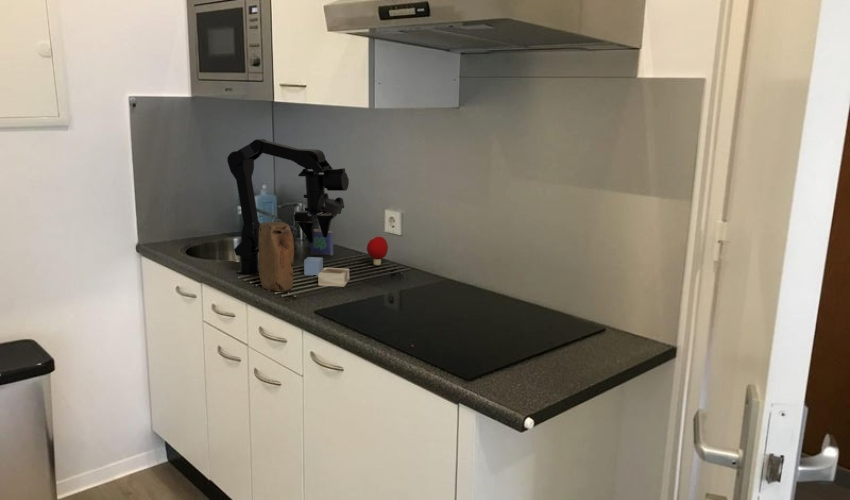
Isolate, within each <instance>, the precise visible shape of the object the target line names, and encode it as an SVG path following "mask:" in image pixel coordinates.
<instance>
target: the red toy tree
mask: <svg viewBox="0 0 850 500" xmlns="http://www.w3.org/2000/svg"><path fill="white" fill-rule="evenodd" d="M388 249H389V245H388V241H387V240H386V239H385V238H384V237H382V236H376V237H373V238H372V239H370V240H369V242H368V243H367V245H366V251H367V254H368V255H369V256H370V257H371V258H372V259H373V260H372V263H373V265H374V266H375V267H379V266H381V264H382V259H384V258H385V257H386V256H387V255H388Z"/></svg>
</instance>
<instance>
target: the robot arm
mask: <svg viewBox="0 0 850 500" xmlns="http://www.w3.org/2000/svg"><path fill="white" fill-rule="evenodd" d="M262 154H266V155H269V156H273V157H276V158H279V159H283V160H288V161H291V162H294V163H295V164H296V165H298V166H299V167H302V168H303V169H302V170H301V171H300V172H299V173H298V174H297V175H298V176H297V177H305V178H304V179H305V180H304V181H305V193H304V194H303V199H306V207H304V210H298V211H296V212H295V213H294V214H293V221H294V222H296V224H297V225H298V226H299V227H300V229H301V230H302V231H303V234H304V235H305V237H306V239H307V240H308V243H313V238H314V229H315V225H317V223H318V225H319V226H320V227H319V229H320V228H321V231H322V234H323V237H327V235H328V231H330V227H331V222H332V220H333V219H334V218H335V217H336V216H337V215H338V214H339V215H341V214H342V210H343V209H344V208H345V203H344V199H343V198H342V197H339V196H338V197H336V198H329V193H328V192H326V190H327V191H330V192H332V191H333V192H334V191H335V192H336V191H339V192H341V191H342V192H343V191H344V192H345V191H347V190H348V189H349V183H350V181H349V180H350V179H349V176H348V174H347V172H346V168H342V167H341V168H333V167H332V165H330V163H329V162H328V161H327V159H326V156H325V154H324V151H322V150H320V149H315V148H297V147H293V146H290V145H285V144H281V143H277V142H274V141H269V140H266V139H264V138H258V139H254V140H253V141H252V142H250V143H249V144H247V145H245V146H243V147H241V148H239V149H238V150H236V151H235V150H234V151H232V152H230V153H229V154H228V155H227V159H226V162H227V165H228V168H229V171H230V173H231V174H232V176H233V177H234V179H235V181H236V187H237V193H238V200H239V205H240V211H241V217H242V222H243V223H242V227H241V228H242V229H241V231H240V242H239V244H238V245H237V246H236V247H235V248H234V249H233V251H234V254H235V256H237V257H239V265H240V268H239V269H238V270H237V271H236V274H241V275H242V274H244V275H257V274H259V256H258V252H259V248H258V246H259V226H260V224H261V222H259V216H258V211H257V203H256V198H255V191H254V186H253V179H252V177H253V173H254V170H255V161H256V160H257V159H258V158H260V157H261V156H262Z"/></svg>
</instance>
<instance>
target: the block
mask: <svg viewBox="0 0 850 500" xmlns="http://www.w3.org/2000/svg"><path fill="white" fill-rule="evenodd" d="M292 232H293V231H292V230H291V226H290V225H289V224H288V223H286V222H285V223H284V222H283V221H282V222H281V221H273V222H270V221H269V222H268V221H265V222H260V226H259V246H258V248H259V252H258V268H259V272H258V275H259V280H260V284H261V287H262V288H264V289H265V290H269V291H274V292H285V291H289V290H291V289H293V285H294V269H293V265H294V260H295V259H294V258H295V244H294V235H293V233H292Z"/></svg>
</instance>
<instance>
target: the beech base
mask: <svg viewBox="0 0 850 500" xmlns="http://www.w3.org/2000/svg"><path fill="white" fill-rule="evenodd" d="M317 277H318V279H317V280H318V283H317V284H318V286H322V287H323V286H327V287H342V288H343V287H345V286H346V285H347V283H349V281H350V268H341V267H340V268H339V267H338V268H337V267H323V270H322V271H321V272H320V273H318V276H317Z"/></svg>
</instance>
